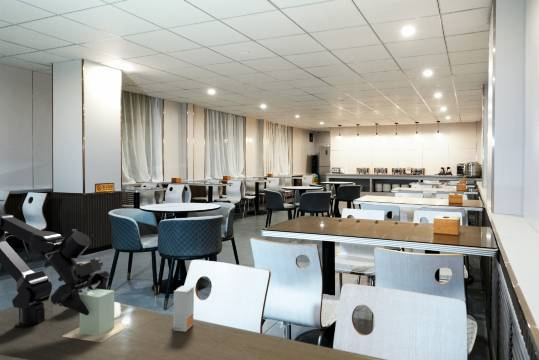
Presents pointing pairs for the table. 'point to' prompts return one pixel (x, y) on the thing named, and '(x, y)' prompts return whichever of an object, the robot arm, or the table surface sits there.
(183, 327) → the skincare box
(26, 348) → the table surface
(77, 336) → the birch base
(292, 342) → the table surface
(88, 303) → the pale green carton
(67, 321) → the table surface
